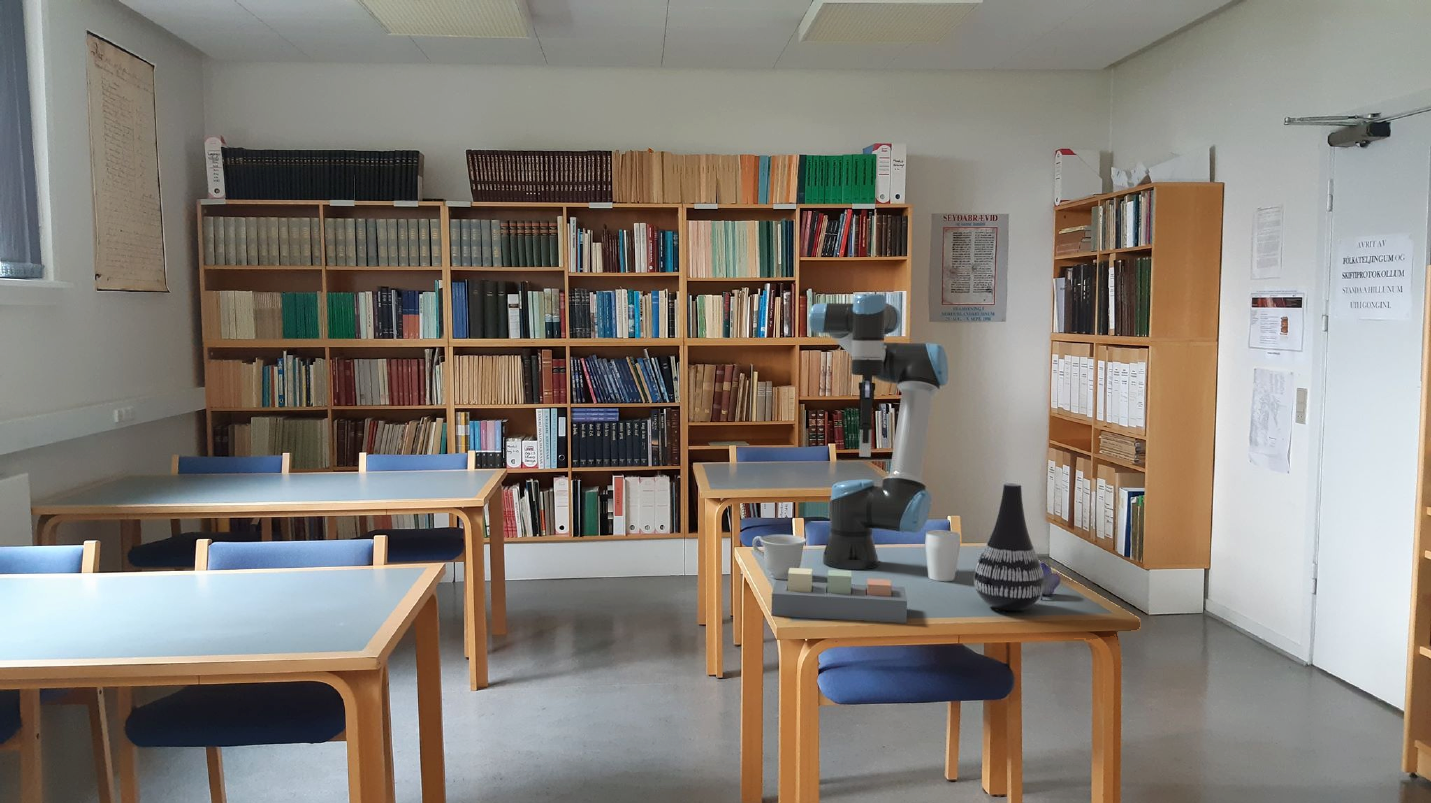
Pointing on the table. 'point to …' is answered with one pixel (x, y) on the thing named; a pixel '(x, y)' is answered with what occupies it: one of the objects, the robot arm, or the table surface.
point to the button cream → (800, 580)
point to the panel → (839, 603)
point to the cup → (942, 554)
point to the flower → (1049, 580)
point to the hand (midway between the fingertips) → (864, 456)
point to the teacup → (780, 553)
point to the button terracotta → (879, 587)
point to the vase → (1009, 559)
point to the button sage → (839, 582)
